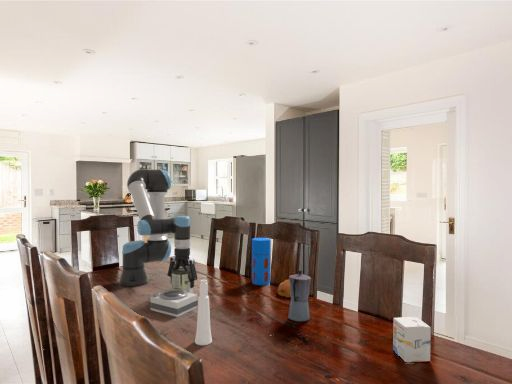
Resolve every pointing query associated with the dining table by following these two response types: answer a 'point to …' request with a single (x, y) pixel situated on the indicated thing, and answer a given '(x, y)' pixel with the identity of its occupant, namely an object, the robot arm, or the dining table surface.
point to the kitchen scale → (173, 302)
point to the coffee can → (180, 279)
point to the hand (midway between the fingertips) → (182, 292)
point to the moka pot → (299, 297)
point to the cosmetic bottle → (203, 316)
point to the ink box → (411, 339)
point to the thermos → (261, 261)
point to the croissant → (284, 289)
